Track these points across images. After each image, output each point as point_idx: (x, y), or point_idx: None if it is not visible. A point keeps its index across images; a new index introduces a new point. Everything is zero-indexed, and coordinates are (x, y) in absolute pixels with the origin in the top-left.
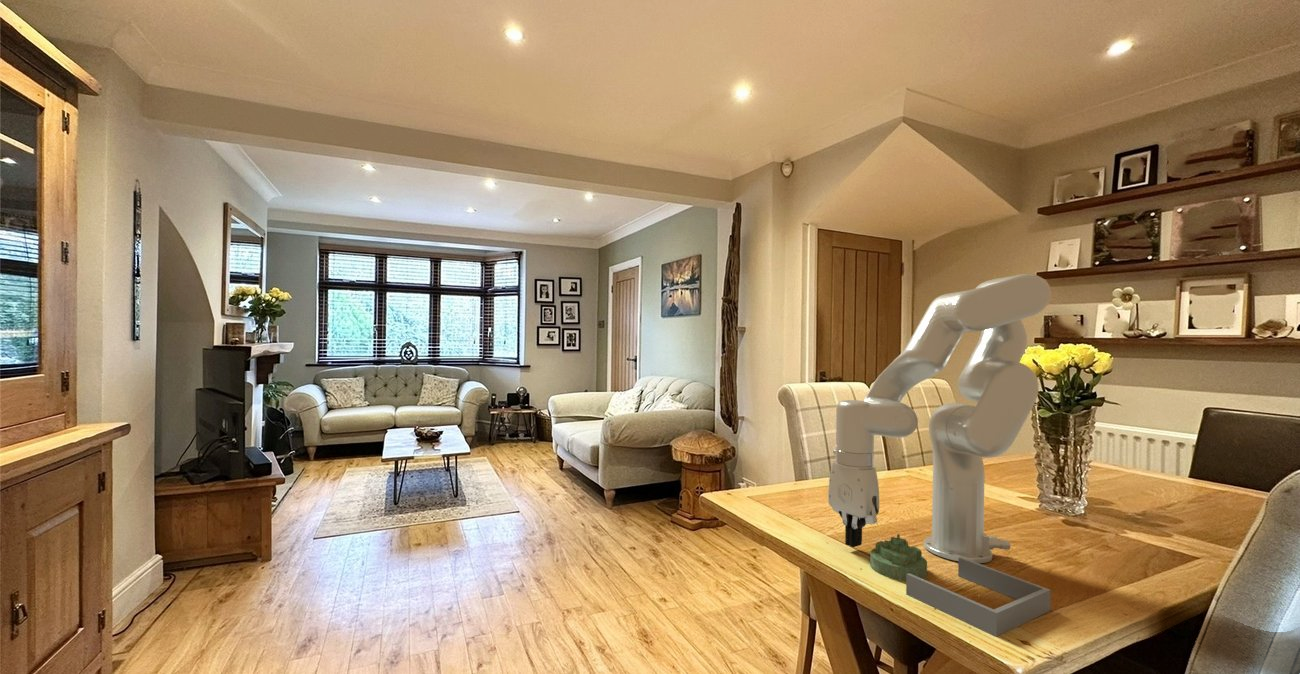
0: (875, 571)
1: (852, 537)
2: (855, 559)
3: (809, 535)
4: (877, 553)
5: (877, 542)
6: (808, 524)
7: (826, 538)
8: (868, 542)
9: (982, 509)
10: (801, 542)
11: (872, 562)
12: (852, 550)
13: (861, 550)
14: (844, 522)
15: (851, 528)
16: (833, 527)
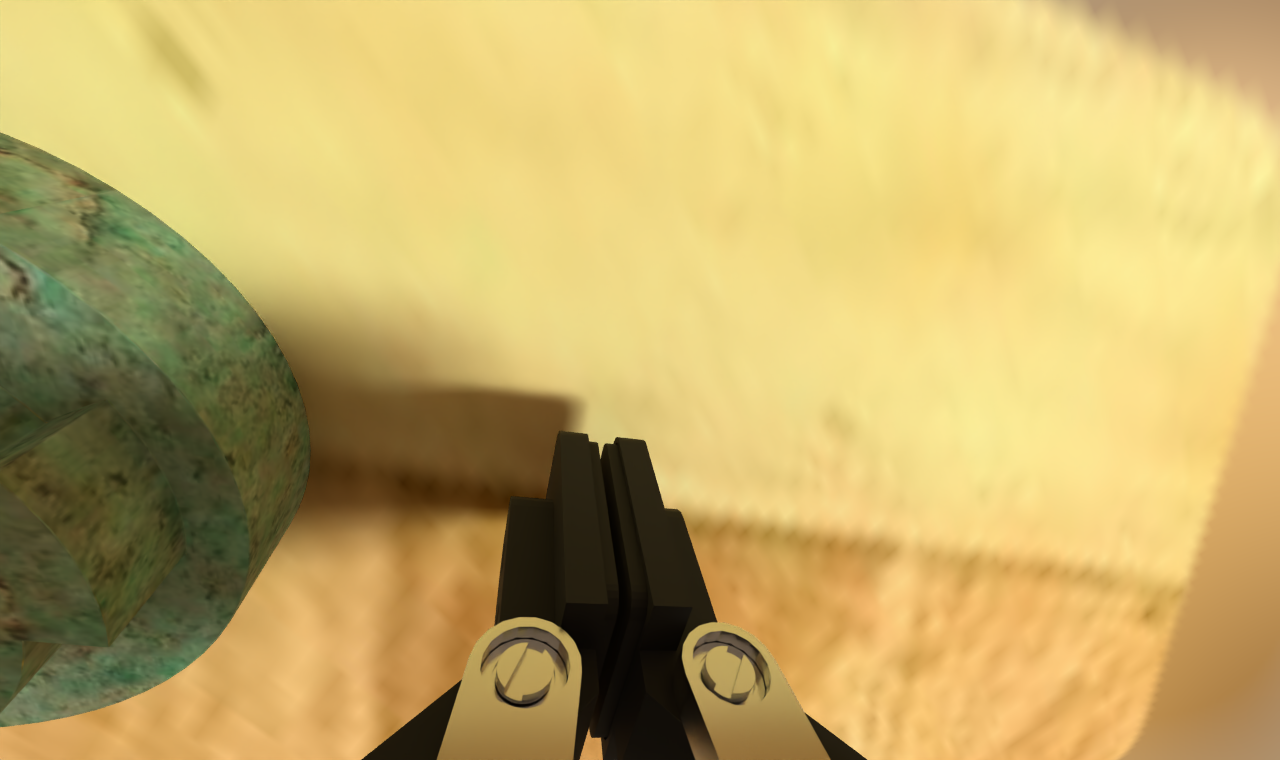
0: (16, 139)
1: (558, 511)
2: (429, 284)
3: (1019, 434)
4: (60, 393)
5: (66, 559)
6: (1071, 594)
7: (877, 493)
8: None
9: None
10: (1051, 220)
11: (35, 196)
12: None
13: None
14: (740, 665)
15: (567, 602)
16: (904, 676)
